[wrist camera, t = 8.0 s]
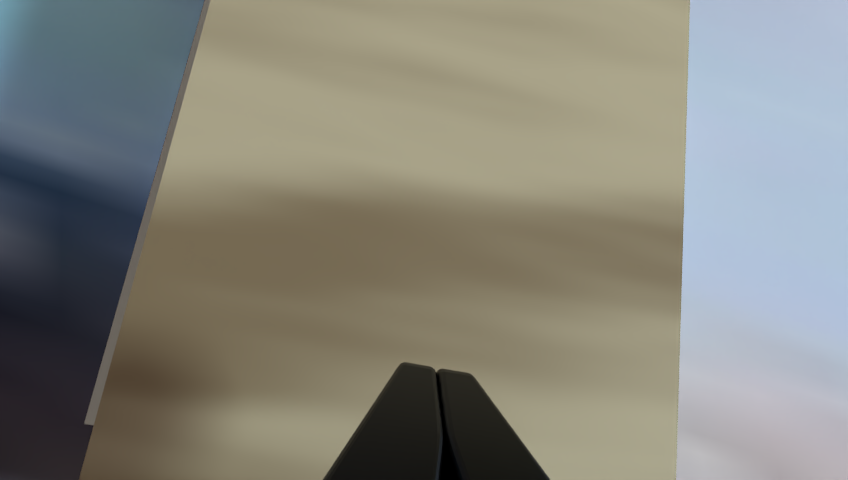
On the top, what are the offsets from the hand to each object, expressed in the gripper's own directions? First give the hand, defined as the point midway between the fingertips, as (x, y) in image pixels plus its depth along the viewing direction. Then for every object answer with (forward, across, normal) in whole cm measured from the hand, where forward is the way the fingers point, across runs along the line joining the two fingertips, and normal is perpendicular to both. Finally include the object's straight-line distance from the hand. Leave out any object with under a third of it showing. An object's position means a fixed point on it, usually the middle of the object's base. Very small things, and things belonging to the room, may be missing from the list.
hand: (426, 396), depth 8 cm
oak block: (+2, 0, +6) cm, 6 cm away
